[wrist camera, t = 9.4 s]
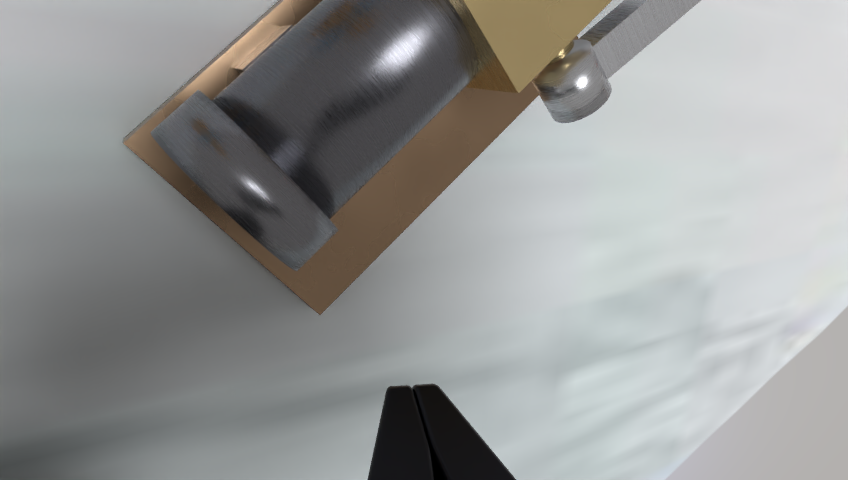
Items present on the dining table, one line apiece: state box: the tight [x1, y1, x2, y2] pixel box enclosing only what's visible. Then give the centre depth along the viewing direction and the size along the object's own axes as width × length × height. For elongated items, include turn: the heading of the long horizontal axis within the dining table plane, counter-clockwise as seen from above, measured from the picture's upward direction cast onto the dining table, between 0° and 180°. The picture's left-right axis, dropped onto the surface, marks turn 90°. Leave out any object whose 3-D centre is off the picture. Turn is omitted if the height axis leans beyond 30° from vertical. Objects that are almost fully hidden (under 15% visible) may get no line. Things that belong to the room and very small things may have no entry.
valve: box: [123, 0, 612, 315], centre depth 18 cm, size 16×9×7 cm, turn 129°
